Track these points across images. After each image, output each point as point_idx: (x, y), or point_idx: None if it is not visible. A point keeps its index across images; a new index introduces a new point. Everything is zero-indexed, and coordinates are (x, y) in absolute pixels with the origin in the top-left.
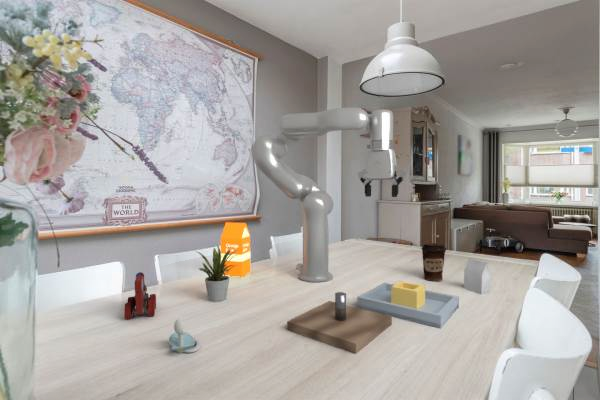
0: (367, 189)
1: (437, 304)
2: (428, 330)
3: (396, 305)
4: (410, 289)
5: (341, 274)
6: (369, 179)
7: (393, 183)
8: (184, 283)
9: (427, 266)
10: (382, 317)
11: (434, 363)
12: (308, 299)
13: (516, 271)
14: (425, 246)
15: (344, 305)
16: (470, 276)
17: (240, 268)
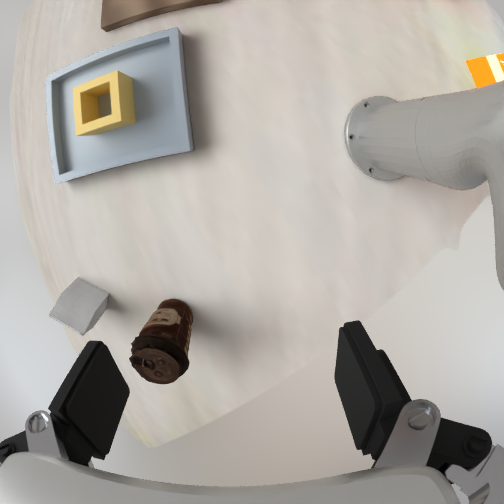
0: (360, 371)
1: (78, 147)
2: (65, 61)
3: (102, 51)
4: (84, 87)
5: (355, 206)
6: (358, 472)
7: (49, 425)
8: (474, 5)
9: (168, 314)
10: (110, 15)
11: (48, 13)
12: (284, 9)
13: (129, 418)
14: (165, 348)
15: None
16: (85, 300)
17: (478, 58)
